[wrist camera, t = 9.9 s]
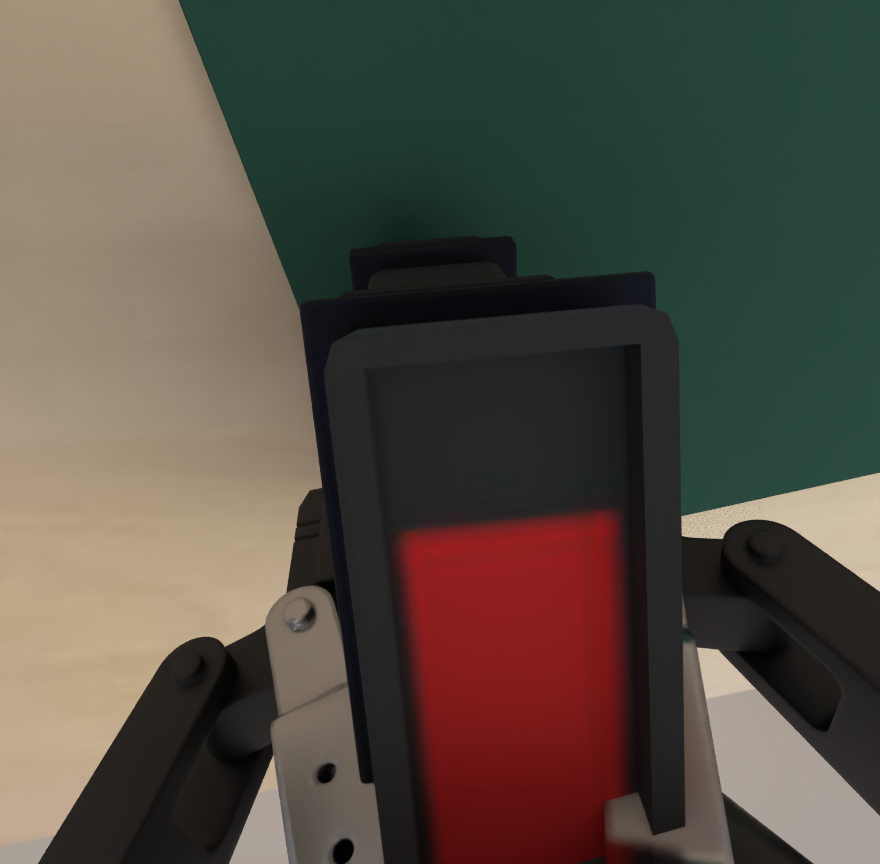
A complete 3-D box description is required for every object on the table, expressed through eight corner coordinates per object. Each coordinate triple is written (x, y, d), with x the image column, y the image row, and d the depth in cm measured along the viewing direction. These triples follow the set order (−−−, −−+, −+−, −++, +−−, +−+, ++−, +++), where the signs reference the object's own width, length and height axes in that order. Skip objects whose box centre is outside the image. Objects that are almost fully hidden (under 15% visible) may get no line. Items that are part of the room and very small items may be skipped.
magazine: (404, 632, 22) (406, 1286, 7) (365, 265, 19) (238, 58, 4) (504, 620, 22) (718, 1236, 7) (478, 255, 19) (716, 26, 5)
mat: (182, -5, 13) (176, -6, 13) (1201, -287, 12) (1229, -297, 12) (403, 568, 25) (403, 577, 24) (927, 453, 24) (936, 460, 23)
